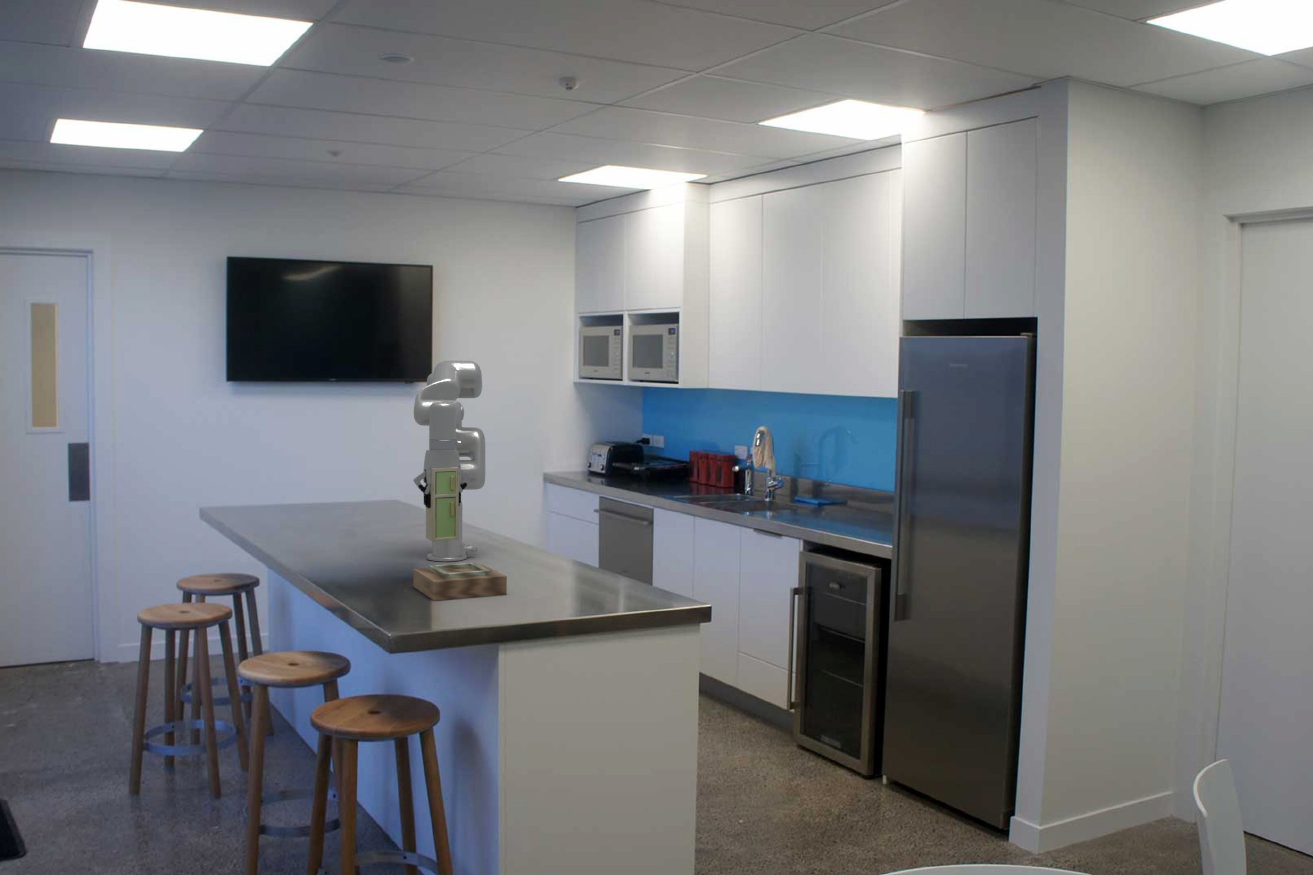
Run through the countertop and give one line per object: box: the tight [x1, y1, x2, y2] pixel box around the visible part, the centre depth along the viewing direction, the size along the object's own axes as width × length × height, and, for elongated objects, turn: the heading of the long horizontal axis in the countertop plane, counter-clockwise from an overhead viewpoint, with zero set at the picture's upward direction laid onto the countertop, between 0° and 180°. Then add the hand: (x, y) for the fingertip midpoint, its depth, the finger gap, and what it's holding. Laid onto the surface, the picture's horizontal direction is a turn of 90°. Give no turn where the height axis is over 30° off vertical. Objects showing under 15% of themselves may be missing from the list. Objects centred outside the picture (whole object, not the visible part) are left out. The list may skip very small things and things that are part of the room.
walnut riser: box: [412, 562, 508, 602], centre depth 306 cm, size 20×20×6 cm
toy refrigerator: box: [425, 467, 459, 543], centre depth 320 cm, size 8×7×21 cm
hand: (442, 506), depth 320 cm, fingers closed on toy refrigerator, 7 cm apart
